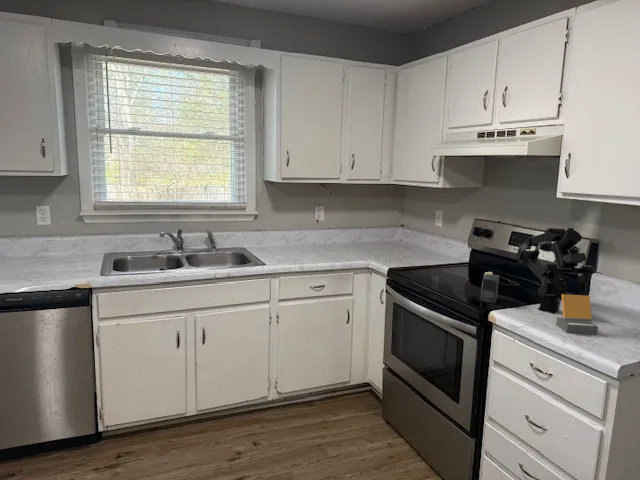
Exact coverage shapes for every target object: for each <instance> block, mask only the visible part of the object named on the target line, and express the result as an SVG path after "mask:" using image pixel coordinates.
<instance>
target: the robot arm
mask: <svg viewBox="0 0 640 480" xmlns="http://www.w3.org/2000/svg"><path fill="white" fill-rule="evenodd" d="M582 239H583V238H582V235H581V234H580V232H578V231H577V230H575V228H574V227H568V228H567V229H565V228H557V227H556V228H555V227H550V228H547V229H546V230H544V232H543V233H541V234H537V235H534V236H529V237H526V239H525V241H524V242H523V243H522V244H521V245H520V246H519V247H518V249H517V252H516V255H515V256H516V260H517V262H518V263H519V264H521V265H523V266H526V267H528V269H530V271H531V272H532V273H533V274H534V275H535V276H536V277H537V279H539V281H540V282H541V286H539V287H538V288H537V295H538V296H540V302H539V303H540V304H539V307H538V308H537V309H538V310H539V311H542V310H543V312H546V311H547V312H546V313H551V314H555V313H556V314H557V312H559V311H560V309H561V307H560V305H561V300H560V298H561V299H562V294H566V292H567V289H568V288H567V287H568V285H567V284H566V282H565V279H563V278H562V277H561V276H560V274H574V275H575V274H576V277H577V281H578V283H579V286H580V288H581V290H582V291H583V292H585V291H587V283H588V278H589V277H591V276H592V275H593V274H594V273H595V272H596V270H595V268H594V266H592V265H582V266H580V267H579V268H575V267H578V264H583V262H586V261H587V256H586V254H585V253H584V252H579V253H571V250H572V249H574V248H575V247H576V246H577V245H578V244H579V243H580V242H581V241H582ZM548 243H549V244H550V243H553V244H551V247H550V248H549V251H550V252H553V255H554V258H555V259H554V260H553V263H545V265H543V264H542V263H541V262H540V260H538V258H539V255H540V253H541V252H540V249H539V247H540V246H541V245H545V244H548ZM530 247H535V248H534V250H529V248H530Z"/></svg>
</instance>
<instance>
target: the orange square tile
mask: <svg viewBox="0 0 640 480" xmlns="http://www.w3.org/2000/svg"><path fill="white" fill-rule="evenodd" d="M590 297H591V296H590V295H582V294H566V293H565V294H562V298H561V305H562V306H561V307H562V318H563V320H570V321H588V322H592V323H593V317H592V309H591V299H590Z"/></svg>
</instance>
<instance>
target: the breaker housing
mask: <svg viewBox="0 0 640 480" xmlns="http://www.w3.org/2000/svg"><path fill="white" fill-rule="evenodd" d="M555 325H556V326H557V327H558V326H559V327H558V328H560V329H561V330H562V331H564V332H566V333H567V334H568V333H569V334H583V335H598V330H599V326H598V325H597V324H595V323H593V321H592V322H588V321H570V320H563V317H556V322H555Z"/></svg>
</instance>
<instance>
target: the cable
mask: <svg viewBox="0 0 640 480" xmlns="http://www.w3.org/2000/svg"><path fill="white" fill-rule="evenodd" d="M485 274H491V275H495V274H494V273H493V272H492V271H487V272H484V275H483V277H484V276H485ZM499 279H503V280H507V281H508V282H509V283H508V284H506V283H503V282H502V281H500V280H499V284H501V285H503V286H514V287H515V286H516V287H519V286H521V284H520V283H519V282H516V281H513V280H511V279H509V278H505V277H502V276H500V275H499Z"/></svg>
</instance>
